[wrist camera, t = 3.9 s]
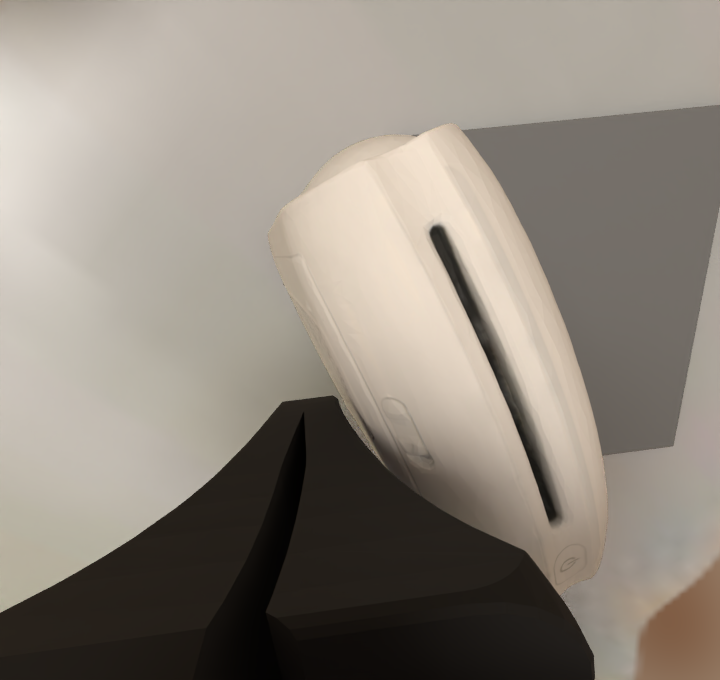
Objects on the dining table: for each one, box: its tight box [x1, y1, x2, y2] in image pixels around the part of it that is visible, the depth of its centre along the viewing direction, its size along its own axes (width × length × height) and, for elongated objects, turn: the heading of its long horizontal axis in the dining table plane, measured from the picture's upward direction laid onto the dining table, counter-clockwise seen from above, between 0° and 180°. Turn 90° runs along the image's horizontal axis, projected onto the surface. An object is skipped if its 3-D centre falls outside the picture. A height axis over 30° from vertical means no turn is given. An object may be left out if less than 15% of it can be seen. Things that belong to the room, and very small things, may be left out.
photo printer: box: [268, 123, 608, 596], centre depth 12 cm, size 10×4×12 cm, turn 24°
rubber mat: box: [411, 105, 720, 455], centre depth 20 cm, size 16×14×1 cm
